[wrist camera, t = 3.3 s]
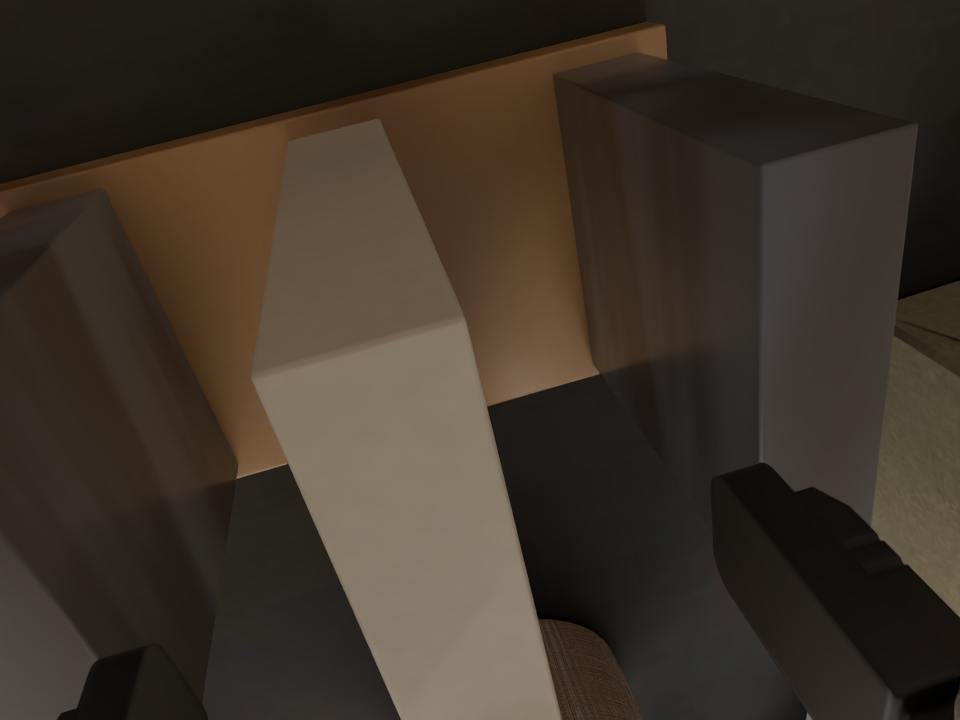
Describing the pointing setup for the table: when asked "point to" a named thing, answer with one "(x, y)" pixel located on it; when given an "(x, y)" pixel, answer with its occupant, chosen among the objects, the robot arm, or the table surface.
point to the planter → (586, 674)
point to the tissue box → (923, 442)
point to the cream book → (395, 436)
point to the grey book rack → (482, 297)
